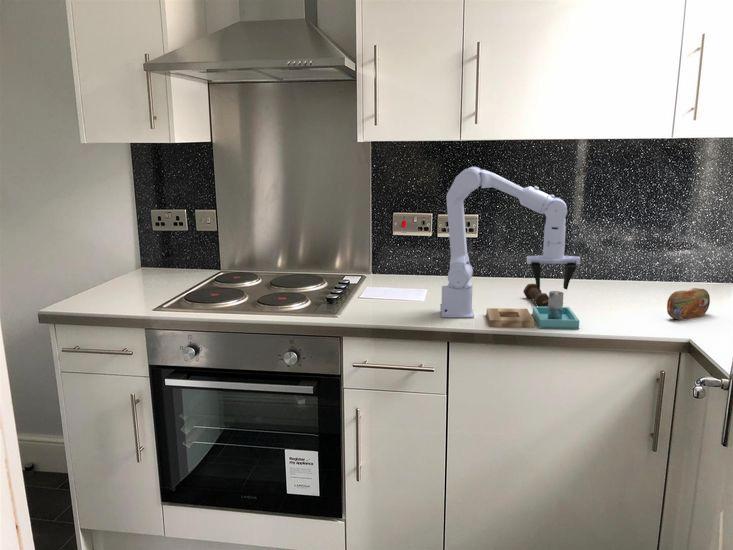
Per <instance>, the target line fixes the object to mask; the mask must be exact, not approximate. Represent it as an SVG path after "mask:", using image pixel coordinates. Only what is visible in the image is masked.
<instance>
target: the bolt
mask: <svg viewBox="0 0 733 550" xmlns="http://www.w3.org/2000/svg"><path fill="white" fill-rule="evenodd" d="M523 294H524V296H525V298H526V299H527V300H533V302H534V303H535V306H536V307H537V306H538V307H548V302H549V294H547V293H545V292H542V289H541V288H540V289H537V288H536V283H528V284H527V285H526V286H525V288H524V290H523Z"/></svg>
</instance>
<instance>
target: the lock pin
mask: <svg viewBox="0 0 733 550" xmlns="http://www.w3.org/2000/svg"><path fill="white" fill-rule="evenodd" d="M548 297H549V302H548V319H562V310H563V307H564V291H563V292H562V291H559V290H551V291H549V292H548Z"/></svg>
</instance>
